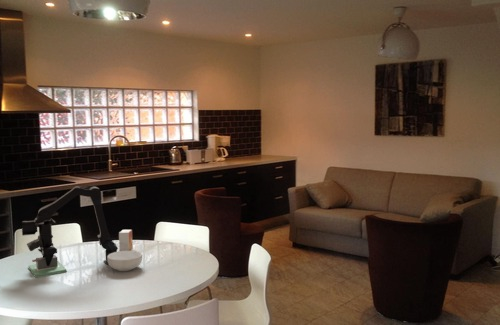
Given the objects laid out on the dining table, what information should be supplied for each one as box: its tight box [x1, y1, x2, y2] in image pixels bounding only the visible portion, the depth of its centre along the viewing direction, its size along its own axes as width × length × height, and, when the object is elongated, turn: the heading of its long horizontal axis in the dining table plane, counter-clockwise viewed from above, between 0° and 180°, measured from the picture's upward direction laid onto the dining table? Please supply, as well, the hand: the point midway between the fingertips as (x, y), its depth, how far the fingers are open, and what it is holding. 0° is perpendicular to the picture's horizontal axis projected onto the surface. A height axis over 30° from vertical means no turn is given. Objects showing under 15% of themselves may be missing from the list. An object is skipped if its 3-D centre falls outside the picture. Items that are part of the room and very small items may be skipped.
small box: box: [118, 229, 134, 251], centre depth 279 cm, size 8×6×10 cm
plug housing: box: [31, 254, 59, 269], centre depth 242 cm, size 4×11×4 cm, turn 124°
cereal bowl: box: [107, 250, 143, 272], centre depth 243 cm, size 17×17×7 cm
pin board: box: [28, 260, 68, 278], centre depth 243 cm, size 18×14×4 cm
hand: (47, 264), depth 242 cm, fingers closed on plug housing, 4 cm apart
